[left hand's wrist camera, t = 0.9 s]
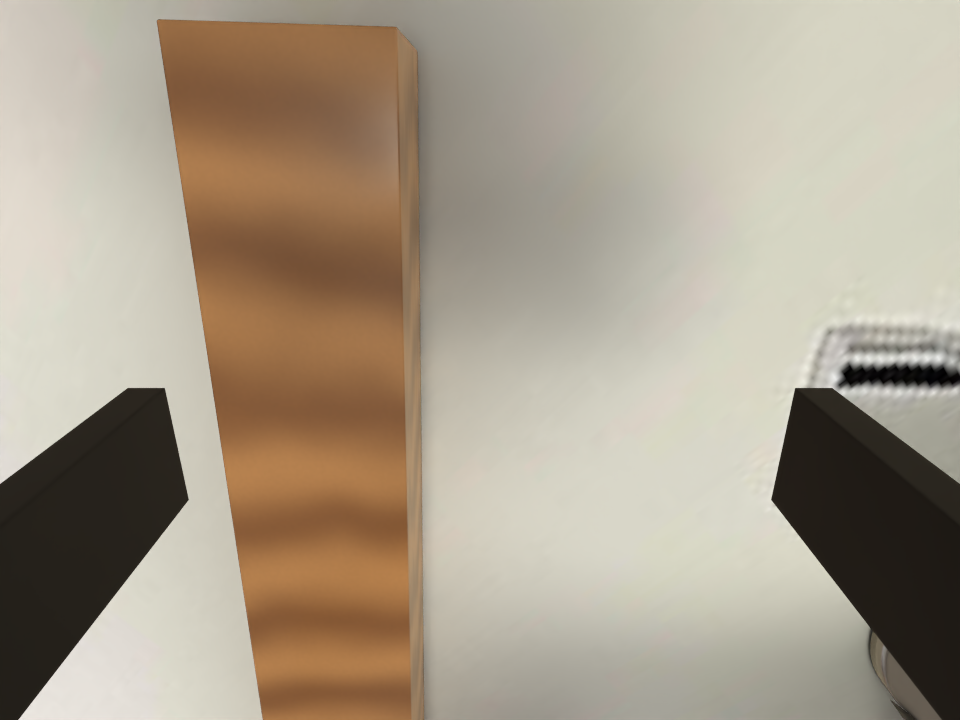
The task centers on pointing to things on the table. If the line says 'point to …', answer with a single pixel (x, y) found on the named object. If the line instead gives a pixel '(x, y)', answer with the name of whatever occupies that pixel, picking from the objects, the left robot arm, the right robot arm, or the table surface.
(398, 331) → the wooden grain beam
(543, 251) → the table surface
